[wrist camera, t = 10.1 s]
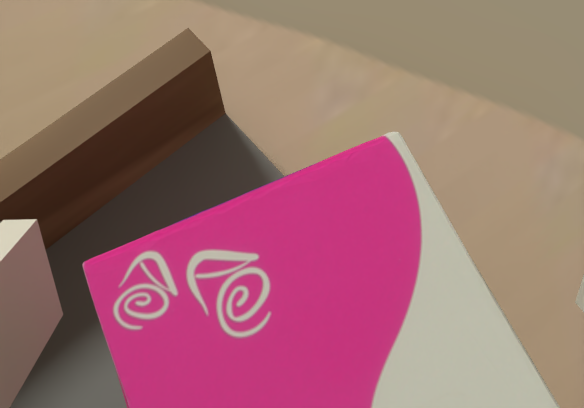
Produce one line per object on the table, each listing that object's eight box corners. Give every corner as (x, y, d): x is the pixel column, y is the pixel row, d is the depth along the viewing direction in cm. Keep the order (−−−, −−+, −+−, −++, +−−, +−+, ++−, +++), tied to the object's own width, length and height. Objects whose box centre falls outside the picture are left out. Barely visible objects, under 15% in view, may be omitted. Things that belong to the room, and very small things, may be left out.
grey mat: (-83, 319, 19) (-97, 317, 18) (209, 101, 22) (207, 92, 21) (177, 720, 16) (172, 736, 15) (484, 396, 18) (492, 397, 18)
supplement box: (339, 257, 19) (411, 116, 8) (414, 411, 18) (622, 486, 7) (196, 321, 18) (66, 257, 8) (259, 488, 17) (212, 714, 6)
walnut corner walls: (-83, 319, 19) (-206, 303, 14) (209, 101, 22) (188, 27, 17) (177, 720, 16) (129, 877, 11) (484, 396, 18) (554, 407, 14)
